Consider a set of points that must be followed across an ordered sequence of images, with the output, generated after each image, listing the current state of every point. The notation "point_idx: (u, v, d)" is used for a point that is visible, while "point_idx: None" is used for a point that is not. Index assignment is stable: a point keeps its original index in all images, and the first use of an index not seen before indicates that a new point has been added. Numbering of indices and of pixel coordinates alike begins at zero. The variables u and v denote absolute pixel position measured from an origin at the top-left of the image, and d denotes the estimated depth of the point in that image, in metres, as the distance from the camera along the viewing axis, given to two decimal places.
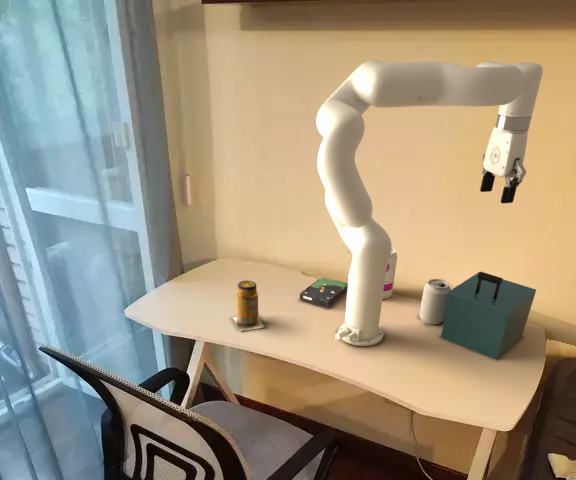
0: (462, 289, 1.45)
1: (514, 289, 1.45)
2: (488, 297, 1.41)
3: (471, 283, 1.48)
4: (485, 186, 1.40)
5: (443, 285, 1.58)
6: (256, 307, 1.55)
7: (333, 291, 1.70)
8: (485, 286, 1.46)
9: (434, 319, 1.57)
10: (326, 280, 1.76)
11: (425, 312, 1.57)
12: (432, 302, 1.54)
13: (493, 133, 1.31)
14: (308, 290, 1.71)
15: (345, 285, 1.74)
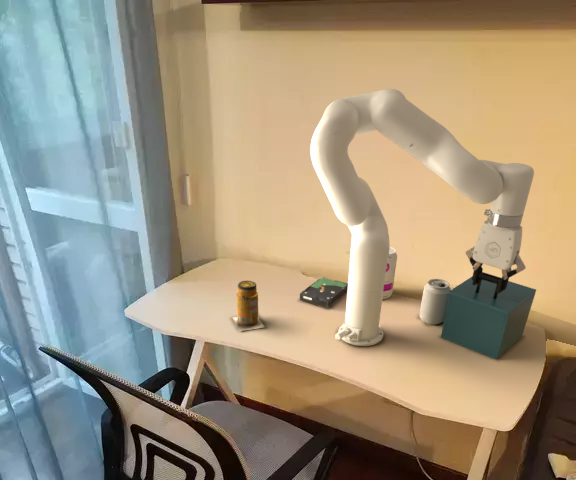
0: (462, 289, 1.45)
1: (514, 289, 1.45)
2: (488, 297, 1.41)
3: (471, 283, 1.48)
4: (477, 279, 1.41)
5: (443, 285, 1.58)
6: (256, 307, 1.55)
7: (333, 291, 1.70)
8: (485, 286, 1.46)
9: (434, 319, 1.57)
10: (326, 280, 1.76)
11: (425, 312, 1.57)
12: (432, 302, 1.54)
13: (485, 229, 1.32)
14: (308, 290, 1.71)
15: (345, 285, 1.74)
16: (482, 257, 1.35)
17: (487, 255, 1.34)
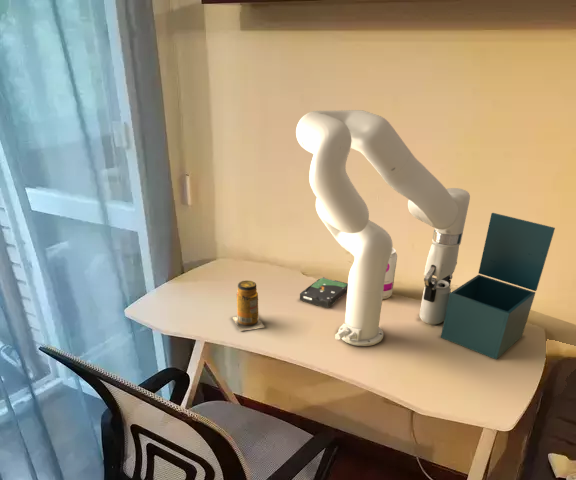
0: None
1: None
2: None
3: None
4: None
5: None
6: (256, 307, 1.55)
7: (333, 291, 1.70)
8: None
9: (434, 319, 1.57)
10: (326, 280, 1.76)
11: (425, 312, 1.57)
12: None
13: None
14: (308, 290, 1.71)
15: (345, 285, 1.74)
16: None
17: None
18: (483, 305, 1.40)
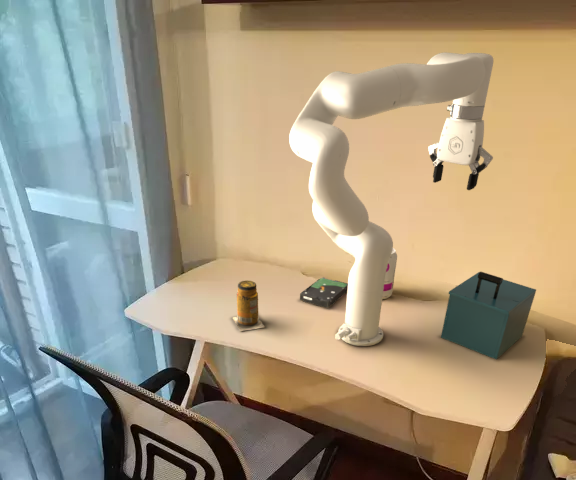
0: (462, 289, 1.45)
1: (514, 289, 1.45)
2: (488, 297, 1.41)
3: (471, 283, 1.48)
4: (437, 176, 1.42)
5: None
6: (256, 307, 1.55)
7: (333, 291, 1.70)
8: (485, 286, 1.46)
9: None
10: (326, 280, 1.76)
11: None
12: None
13: (448, 124, 1.33)
14: (308, 290, 1.71)
15: (345, 285, 1.74)
16: (446, 155, 1.36)
17: (450, 152, 1.35)
18: None
